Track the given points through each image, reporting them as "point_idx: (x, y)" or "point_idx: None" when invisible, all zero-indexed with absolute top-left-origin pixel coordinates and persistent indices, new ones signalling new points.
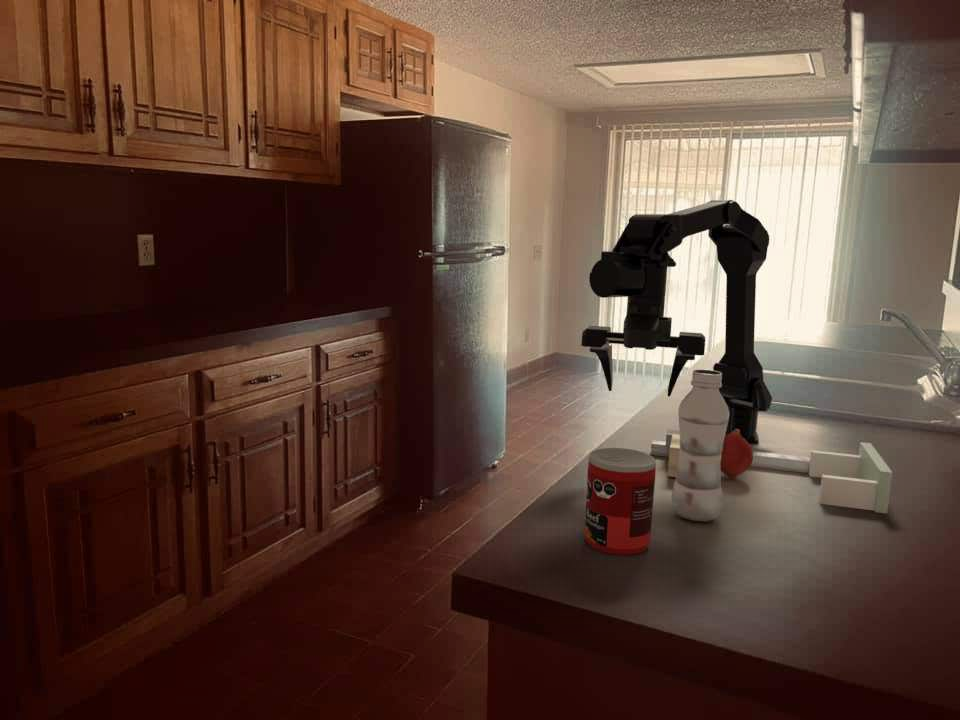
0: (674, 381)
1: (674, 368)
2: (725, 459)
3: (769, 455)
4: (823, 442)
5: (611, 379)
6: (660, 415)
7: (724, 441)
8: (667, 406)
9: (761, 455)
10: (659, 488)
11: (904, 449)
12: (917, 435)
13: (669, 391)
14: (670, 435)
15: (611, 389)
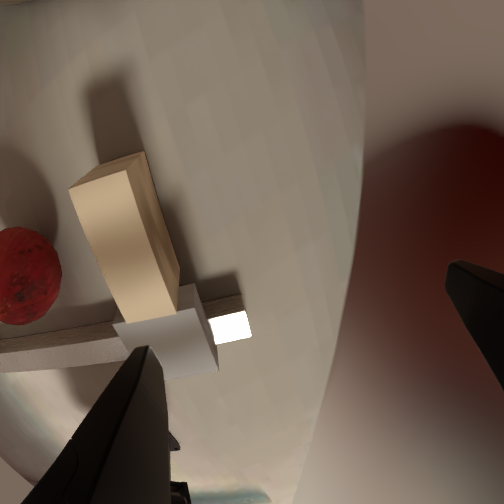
0: (92, 415)
1: (73, 498)
2: (13, 232)
3: (28, 358)
4: (63, 448)
5: (489, 296)
6: (285, 453)
7: (9, 276)
8: (285, 473)
9: (34, 352)
10: (139, 62)
11: (9, 445)
12: (33, 474)
13: (133, 363)
14: (183, 309)
15: (451, 273)
